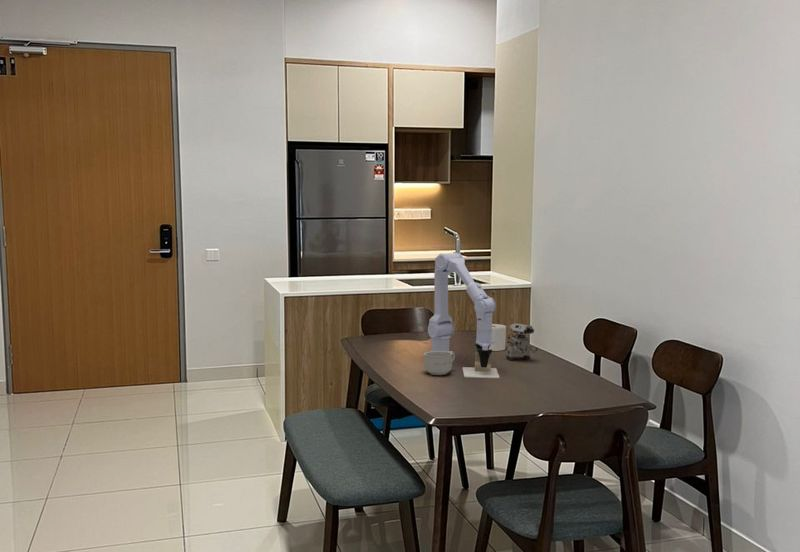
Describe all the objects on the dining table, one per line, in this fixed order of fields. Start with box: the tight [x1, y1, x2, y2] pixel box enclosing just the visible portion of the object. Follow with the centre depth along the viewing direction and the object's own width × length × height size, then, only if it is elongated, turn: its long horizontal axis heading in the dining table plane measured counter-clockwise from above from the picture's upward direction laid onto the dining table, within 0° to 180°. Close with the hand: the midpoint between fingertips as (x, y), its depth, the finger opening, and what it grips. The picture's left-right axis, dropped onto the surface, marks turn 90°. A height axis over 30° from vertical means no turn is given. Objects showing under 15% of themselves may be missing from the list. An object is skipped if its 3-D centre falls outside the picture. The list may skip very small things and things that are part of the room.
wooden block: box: [474, 351, 492, 372], centre depth 293 cm, size 2×6×7 cm, turn 88°
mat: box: [462, 366, 500, 379], centre depth 292 cm, size 14×13×1 cm
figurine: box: [505, 322, 538, 361], centre depth 313 cm, size 9×12×15 cm
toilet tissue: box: [488, 323, 507, 352], centre depth 335 cm, size 11×12×10 cm
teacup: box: [423, 350, 456, 376], centre depth 290 cm, size 14×11×8 cm
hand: (483, 364), depth 293 cm, fingers open, 7 cm apart
